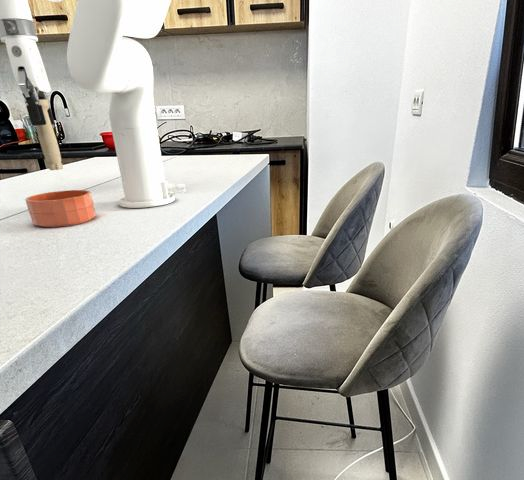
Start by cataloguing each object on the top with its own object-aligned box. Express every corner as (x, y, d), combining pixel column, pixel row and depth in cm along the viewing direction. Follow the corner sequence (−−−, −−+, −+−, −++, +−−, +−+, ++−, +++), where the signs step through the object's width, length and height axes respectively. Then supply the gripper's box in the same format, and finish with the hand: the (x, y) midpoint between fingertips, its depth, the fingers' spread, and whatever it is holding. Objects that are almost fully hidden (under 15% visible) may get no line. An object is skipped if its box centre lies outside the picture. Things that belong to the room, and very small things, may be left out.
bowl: (100, 212, 93) (95, 188, 91) (90, 225, 82) (83, 198, 80) (43, 217, 92) (35, 192, 89) (24, 230, 81) (16, 203, 79)
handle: (67, 167, 111) (49, 100, 103) (65, 169, 105) (46, 99, 98) (47, 169, 110) (27, 102, 102) (44, 171, 104) (23, 100, 97)
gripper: (22, 24, 87) (50, 124, 95) (46, 38, 102) (68, 123, 111) (-17, 26, 86) (15, 126, 95) (13, 40, 101) (38, 126, 110)
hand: (43, 124), depth 103 cm, fingers closed on handle, 6 cm apart
